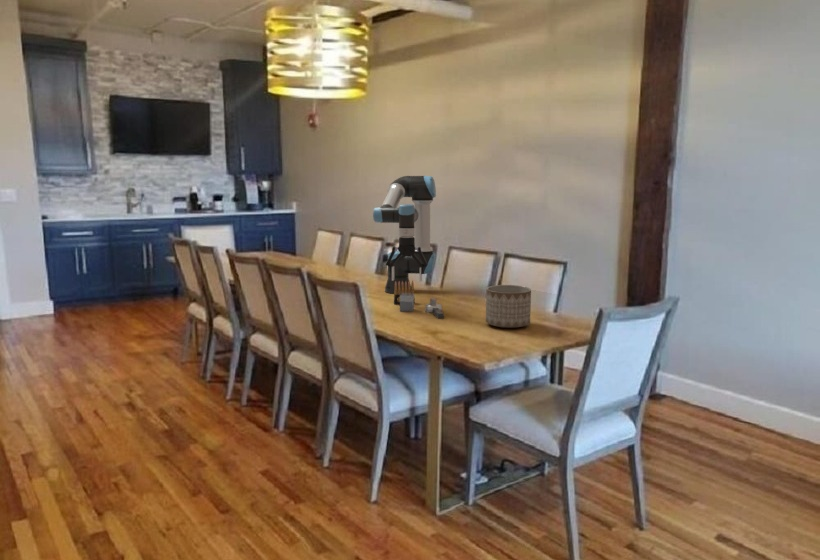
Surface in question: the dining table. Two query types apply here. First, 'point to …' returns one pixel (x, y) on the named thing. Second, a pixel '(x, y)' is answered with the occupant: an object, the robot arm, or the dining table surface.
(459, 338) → the dining table surface
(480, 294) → the dining table surface
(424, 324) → the dining table surface
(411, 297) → the grey rectangular block
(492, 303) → the planter
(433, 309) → the metal ladle
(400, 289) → the ammunition clip
